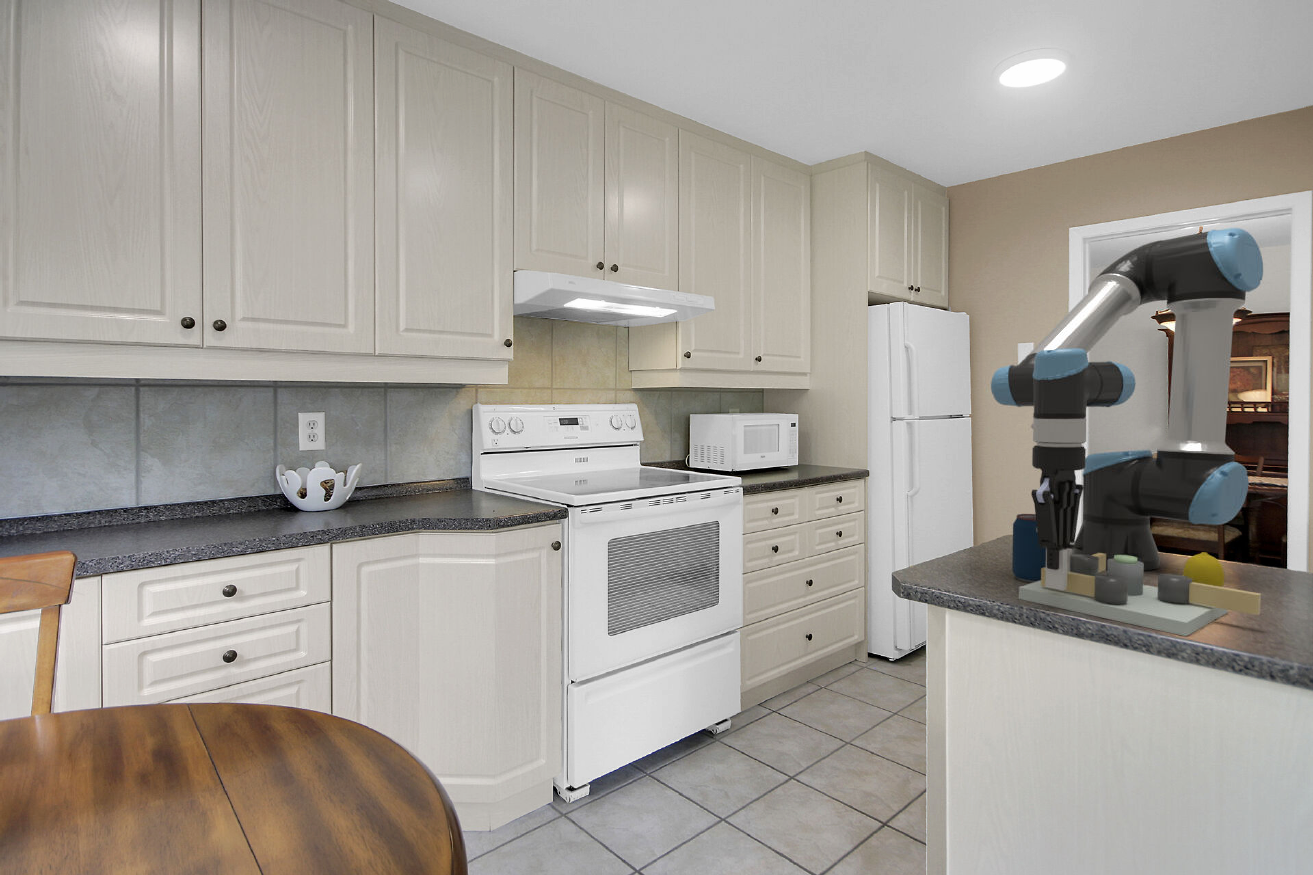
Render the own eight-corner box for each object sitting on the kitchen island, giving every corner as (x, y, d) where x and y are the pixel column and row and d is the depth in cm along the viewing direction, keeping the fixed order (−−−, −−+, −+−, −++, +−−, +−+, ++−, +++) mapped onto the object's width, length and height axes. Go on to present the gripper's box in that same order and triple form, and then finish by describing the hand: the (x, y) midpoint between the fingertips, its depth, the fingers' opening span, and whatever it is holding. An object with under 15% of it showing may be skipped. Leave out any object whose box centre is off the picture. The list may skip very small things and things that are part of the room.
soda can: (1059, 584, 130) (1060, 519, 129) (1019, 583, 131) (1020, 519, 130) (1044, 574, 137) (1046, 513, 136) (1006, 573, 138) (1007, 512, 137)
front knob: (1132, 600, 112) (1132, 578, 111) (1120, 605, 109) (1121, 583, 109) (1048, 583, 122) (1049, 563, 122) (1036, 587, 119) (1036, 567, 119)
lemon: (1231, 604, 116) (1232, 556, 116) (1193, 602, 117) (1194, 555, 117) (1212, 595, 122) (1213, 549, 121) (1175, 593, 123) (1177, 548, 122)
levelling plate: (1067, 581, 131) (1068, 540, 131) (1227, 612, 112) (1229, 564, 112) (1018, 598, 121) (1019, 553, 120) (1186, 636, 101) (1187, 582, 101)
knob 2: (1152, 598, 112) (1153, 576, 112) (1163, 593, 115) (1164, 572, 115) (1254, 618, 102) (1255, 594, 102) (1263, 612, 105) (1264, 589, 104)
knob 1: (1091, 580, 123) (1092, 561, 123) (1065, 575, 127) (1065, 556, 127) (1115, 572, 129) (1115, 553, 129) (1089, 567, 132) (1089, 549, 132)
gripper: (1053, 441, 121) (1051, 576, 123) (1015, 445, 114) (1013, 589, 115) (1101, 443, 115) (1098, 585, 117) (1064, 448, 108) (1061, 600, 109)
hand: (1056, 587), depth 116 cm, fingers closed
